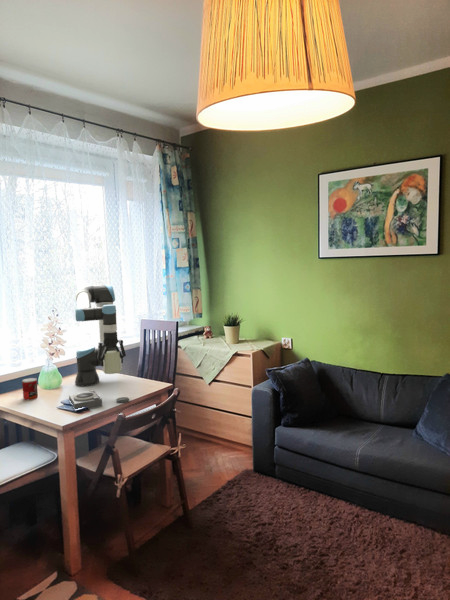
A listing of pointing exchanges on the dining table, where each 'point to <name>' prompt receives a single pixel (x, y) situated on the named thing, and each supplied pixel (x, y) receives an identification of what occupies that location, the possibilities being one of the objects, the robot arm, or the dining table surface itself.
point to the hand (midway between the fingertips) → (112, 370)
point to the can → (112, 362)
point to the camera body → (86, 400)
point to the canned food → (30, 388)
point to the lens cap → (123, 400)
